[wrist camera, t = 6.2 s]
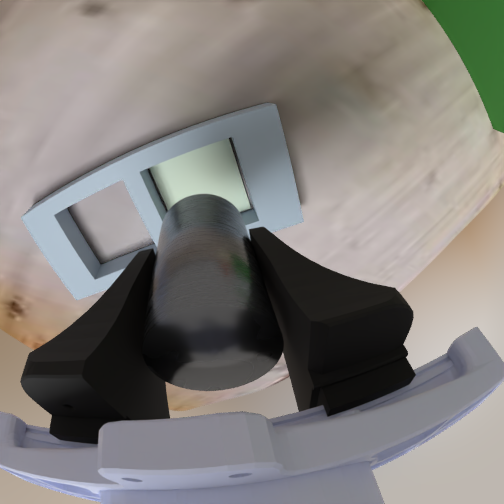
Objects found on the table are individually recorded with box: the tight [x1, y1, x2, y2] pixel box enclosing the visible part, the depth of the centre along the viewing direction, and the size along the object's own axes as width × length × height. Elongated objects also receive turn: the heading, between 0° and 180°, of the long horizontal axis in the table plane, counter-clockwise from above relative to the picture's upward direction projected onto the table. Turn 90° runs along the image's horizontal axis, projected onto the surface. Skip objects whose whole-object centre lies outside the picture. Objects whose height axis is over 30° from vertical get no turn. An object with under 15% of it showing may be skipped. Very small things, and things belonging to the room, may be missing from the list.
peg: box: [142, 194, 284, 391], centre depth 10 cm, size 4×4×7 cm
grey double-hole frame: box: [21, 103, 304, 300], centre depth 18 cm, size 19×8×2 cm, turn 105°
